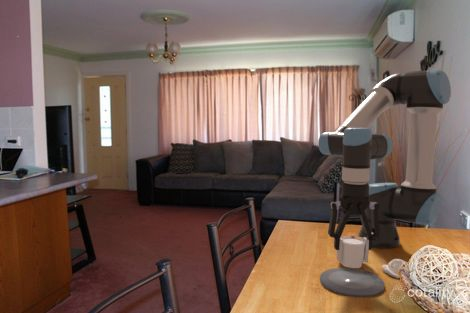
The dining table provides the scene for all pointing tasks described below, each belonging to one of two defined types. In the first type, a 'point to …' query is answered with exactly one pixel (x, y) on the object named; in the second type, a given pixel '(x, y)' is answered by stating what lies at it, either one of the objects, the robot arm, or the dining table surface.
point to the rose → (393, 267)
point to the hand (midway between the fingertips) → (352, 260)
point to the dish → (352, 282)
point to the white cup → (352, 252)
